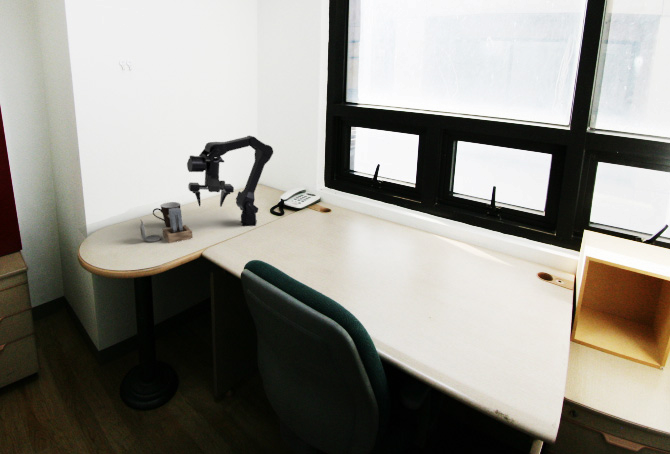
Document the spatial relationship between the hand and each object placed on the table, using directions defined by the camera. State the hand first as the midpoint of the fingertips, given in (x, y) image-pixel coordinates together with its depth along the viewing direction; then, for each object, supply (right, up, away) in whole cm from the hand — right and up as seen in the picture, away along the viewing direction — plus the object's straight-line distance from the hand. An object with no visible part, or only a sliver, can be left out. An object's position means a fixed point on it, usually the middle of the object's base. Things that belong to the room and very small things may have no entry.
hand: (210, 206), depth 199 cm
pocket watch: (-24, -15, -7) cm, 29 cm away
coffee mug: (-22, -8, +11) cm, 26 cm away
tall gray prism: (-13, -13, -4) cm, 19 cm away
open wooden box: (-13, -14, -3) cm, 19 cm away
